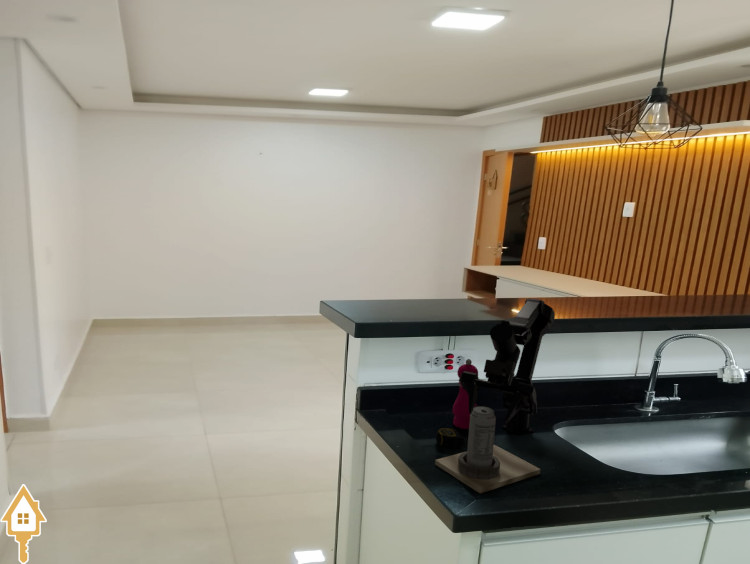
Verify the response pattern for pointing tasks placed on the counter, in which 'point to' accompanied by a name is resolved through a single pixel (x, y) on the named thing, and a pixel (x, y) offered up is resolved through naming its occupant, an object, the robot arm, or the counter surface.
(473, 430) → the energy drink can
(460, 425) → the pepper mill
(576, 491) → the counter surface
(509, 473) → the collar board
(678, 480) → the counter surface
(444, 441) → the tape measure
